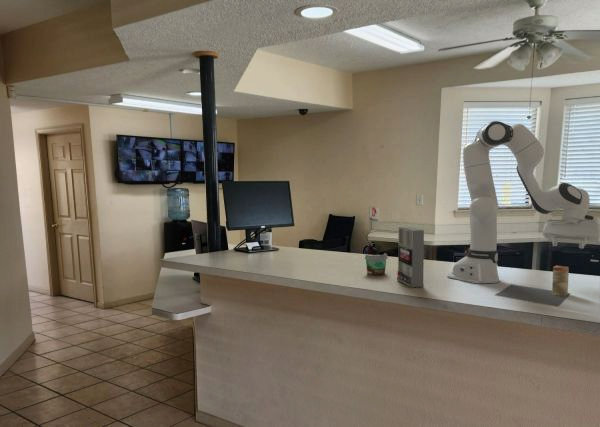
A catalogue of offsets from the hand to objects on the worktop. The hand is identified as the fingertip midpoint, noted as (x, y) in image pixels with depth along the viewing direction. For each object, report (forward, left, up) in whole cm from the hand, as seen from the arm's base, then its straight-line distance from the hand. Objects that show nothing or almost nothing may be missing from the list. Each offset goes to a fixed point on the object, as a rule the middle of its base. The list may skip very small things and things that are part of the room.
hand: (567, 246), depth 170 cm
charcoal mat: (-8, -18, -18) cm, 27 cm away
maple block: (0, -11, -18) cm, 21 cm away
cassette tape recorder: (-54, -33, -19) cm, 66 cm away
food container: (-74, -27, -19) cm, 81 cm away
